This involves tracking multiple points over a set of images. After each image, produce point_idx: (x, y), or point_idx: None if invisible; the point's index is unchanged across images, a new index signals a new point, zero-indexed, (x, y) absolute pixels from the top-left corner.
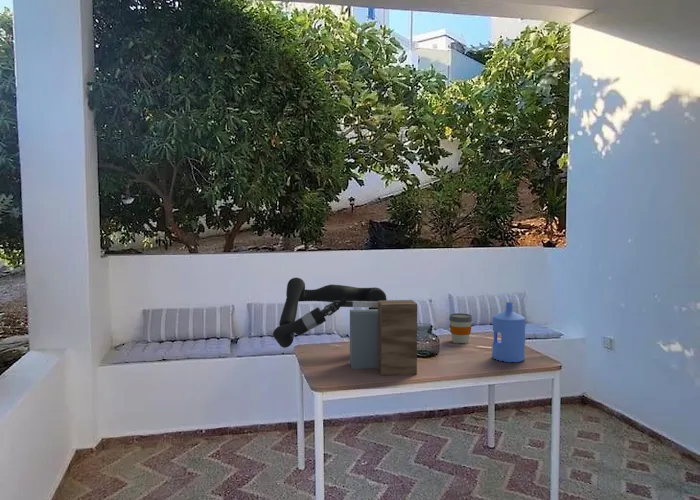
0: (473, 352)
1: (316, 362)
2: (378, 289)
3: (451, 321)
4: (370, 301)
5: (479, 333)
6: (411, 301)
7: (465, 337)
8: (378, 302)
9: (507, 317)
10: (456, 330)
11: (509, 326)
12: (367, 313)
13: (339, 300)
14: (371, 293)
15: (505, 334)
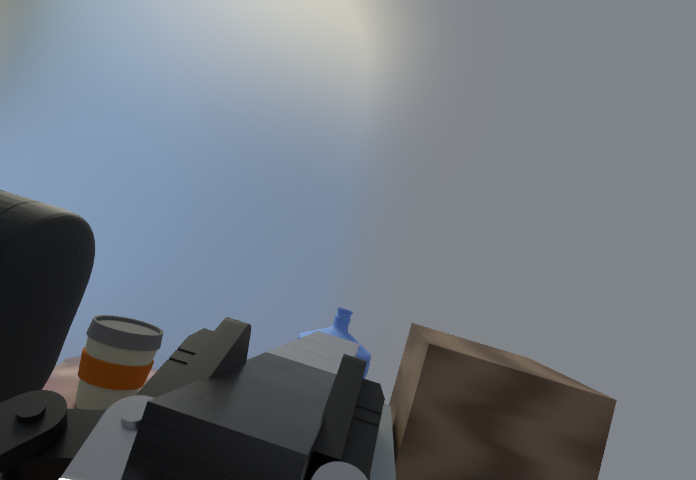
0: None
1: None
2: (75, 214)
3: (113, 347)
4: (311, 339)
5: (74, 360)
6: (458, 337)
7: (136, 393)
8: (457, 361)
9: (359, 348)
10: (127, 376)
11: (365, 371)
12: (394, 472)
13: (212, 373)
14: (36, 234)
15: None
